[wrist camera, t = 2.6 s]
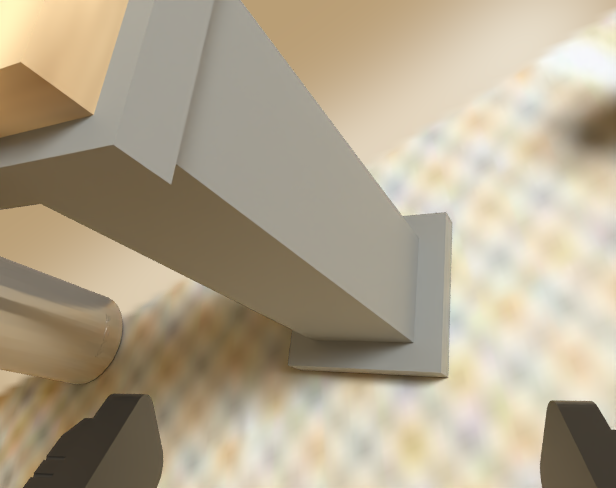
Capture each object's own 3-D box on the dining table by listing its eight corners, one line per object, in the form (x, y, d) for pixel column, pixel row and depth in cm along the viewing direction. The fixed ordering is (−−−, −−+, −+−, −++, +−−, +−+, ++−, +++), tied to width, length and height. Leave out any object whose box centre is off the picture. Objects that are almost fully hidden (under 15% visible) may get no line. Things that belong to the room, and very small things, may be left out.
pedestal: (299, 369, 44) (-150, 198, 18) (316, 233, 48) (-27, -67, 22) (448, 377, 38) (113, 144, 12) (452, 222, 43) (209, -196, 16)
